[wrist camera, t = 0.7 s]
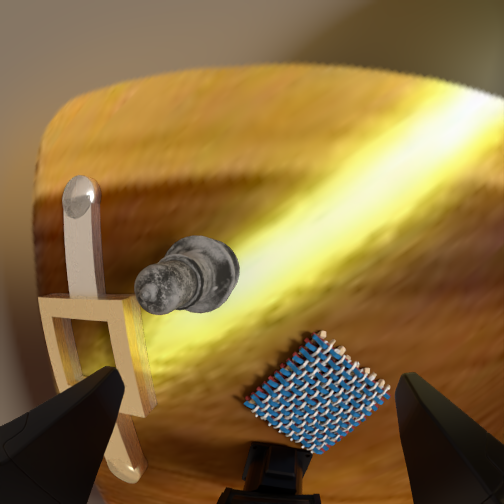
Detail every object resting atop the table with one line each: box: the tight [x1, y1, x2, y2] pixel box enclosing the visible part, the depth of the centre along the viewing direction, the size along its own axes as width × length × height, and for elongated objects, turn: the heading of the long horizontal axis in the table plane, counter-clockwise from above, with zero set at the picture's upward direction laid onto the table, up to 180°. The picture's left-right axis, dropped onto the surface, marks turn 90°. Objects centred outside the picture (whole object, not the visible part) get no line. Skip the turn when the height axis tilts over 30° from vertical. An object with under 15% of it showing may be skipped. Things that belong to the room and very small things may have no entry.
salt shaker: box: [134, 236, 240, 315], centre depth 19 cm, size 6×6×12 cm
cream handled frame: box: [50, 175, 157, 410], centre depth 27 cm, size 24×12×2 cm, turn 4°
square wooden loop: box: [38, 295, 151, 483], centre depth 26 cm, size 24×12×3 cm, turn 4°
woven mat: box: [244, 331, 391, 454], centre depth 24 cm, size 10×11×2 cm
